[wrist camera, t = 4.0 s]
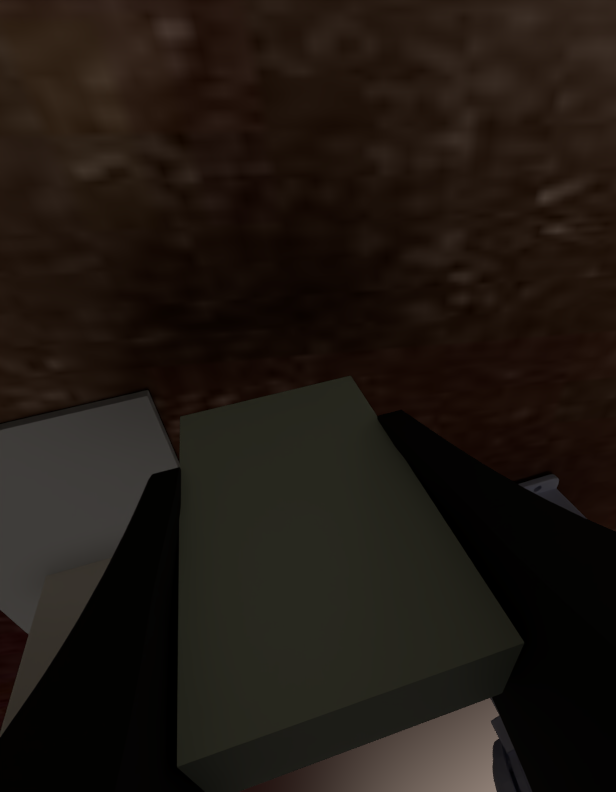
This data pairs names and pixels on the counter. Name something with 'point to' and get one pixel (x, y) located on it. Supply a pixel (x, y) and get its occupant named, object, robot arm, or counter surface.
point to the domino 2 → (317, 591)
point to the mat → (72, 490)
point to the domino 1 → (52, 626)
